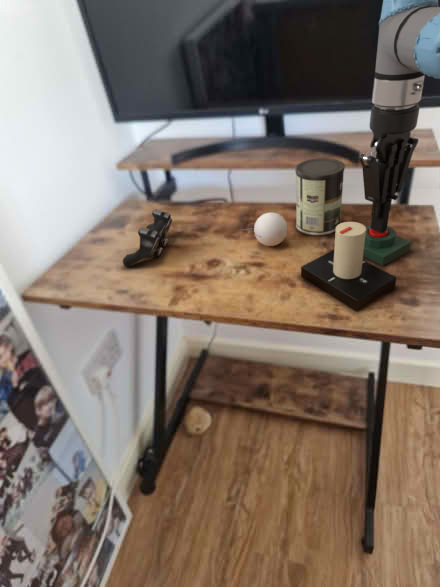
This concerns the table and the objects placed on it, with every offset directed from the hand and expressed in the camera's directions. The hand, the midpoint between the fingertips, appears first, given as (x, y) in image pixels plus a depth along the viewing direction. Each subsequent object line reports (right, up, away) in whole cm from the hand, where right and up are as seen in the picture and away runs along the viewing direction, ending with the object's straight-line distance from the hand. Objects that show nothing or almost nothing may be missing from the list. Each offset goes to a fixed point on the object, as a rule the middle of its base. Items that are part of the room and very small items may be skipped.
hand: (378, 229), depth 81 cm
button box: (+1, -4, +3) cm, 5 cm away
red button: (0, -2, +1) cm, 2 cm away
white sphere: (-22, -2, +10) cm, 24 cm away
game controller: (-48, -3, +13) cm, 50 cm away
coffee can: (-9, +3, +14) cm, 17 cm away
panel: (-8, -11, -5) cm, 14 cm away
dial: (-8, -9, -7) cm, 14 cm away
